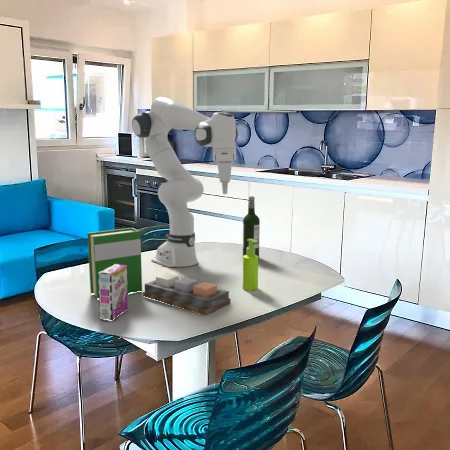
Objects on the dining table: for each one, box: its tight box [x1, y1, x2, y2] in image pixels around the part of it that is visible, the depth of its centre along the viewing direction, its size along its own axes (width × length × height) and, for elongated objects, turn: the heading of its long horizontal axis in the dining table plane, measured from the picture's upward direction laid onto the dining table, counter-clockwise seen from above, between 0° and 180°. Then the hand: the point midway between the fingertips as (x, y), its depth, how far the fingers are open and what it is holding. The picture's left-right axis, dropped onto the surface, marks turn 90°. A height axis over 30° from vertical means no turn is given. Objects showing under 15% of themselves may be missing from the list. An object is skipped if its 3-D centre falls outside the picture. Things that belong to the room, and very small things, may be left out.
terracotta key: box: [193, 281, 218, 298], centre depth 172 cm, size 6×6×4 cm
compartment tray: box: [142, 279, 231, 316], centre depth 178 cm, size 30×14×5 cm, turn 54°
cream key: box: [155, 272, 180, 288], centre depth 182 cm, size 6×6×4 cm
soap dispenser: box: [242, 239, 259, 292], centre depth 189 cm, size 6×7×20 cm
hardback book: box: [86, 227, 143, 298], centre depth 183 cm, size 18×7×24 cm, turn 123°
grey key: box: [174, 277, 198, 293], centre depth 177 cm, size 6×6×4 cm
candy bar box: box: [98, 264, 129, 320], centre depth 162 cm, size 11×5×16 cm, turn 163°
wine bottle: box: [242, 195, 261, 260], centre depth 232 cm, size 8×8×30 cm
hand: (225, 192), depth 187 cm, fingers open, 8 cm apart
